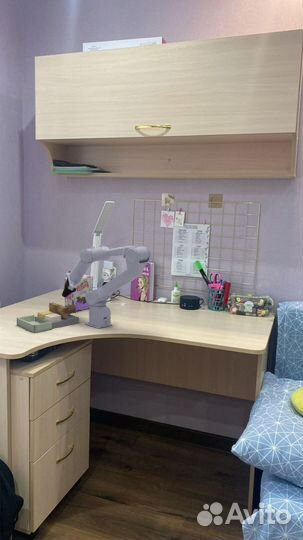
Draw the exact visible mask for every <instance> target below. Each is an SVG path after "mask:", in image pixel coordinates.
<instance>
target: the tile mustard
mask: <svg viewBox="0 0 303 540" xmlns="http://www.w3.org/2000/svg"><path fill="white" fill-rule="evenodd" d="M48 314H54V313H53V312H50V311H49V310H43V311H38V312H37V315H36V316H37V317H39V318H41V319H45V315H48Z"/></svg>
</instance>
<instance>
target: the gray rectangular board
mask: <svg viewBox="0 0 303 540" xmlns="http://www.w3.org/2000/svg"><path fill="white" fill-rule="evenodd" d="M68 315H69V318H62V317H61V320H60V321H55V322H49V321H46V320H45V319H41V318H39V317H37V315H36V316H35V314H31V315H24V316H19V317H16V326H18V327H20V328H22V329H25V330H27V331H28V332H31V333H33V334H37V333H41V332H45V331H46V332H47V331H51V330H53V329H57V328H62V327H68V326H72V325H76V324H80V317H79V316H75V315H73V314H68Z"/></svg>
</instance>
